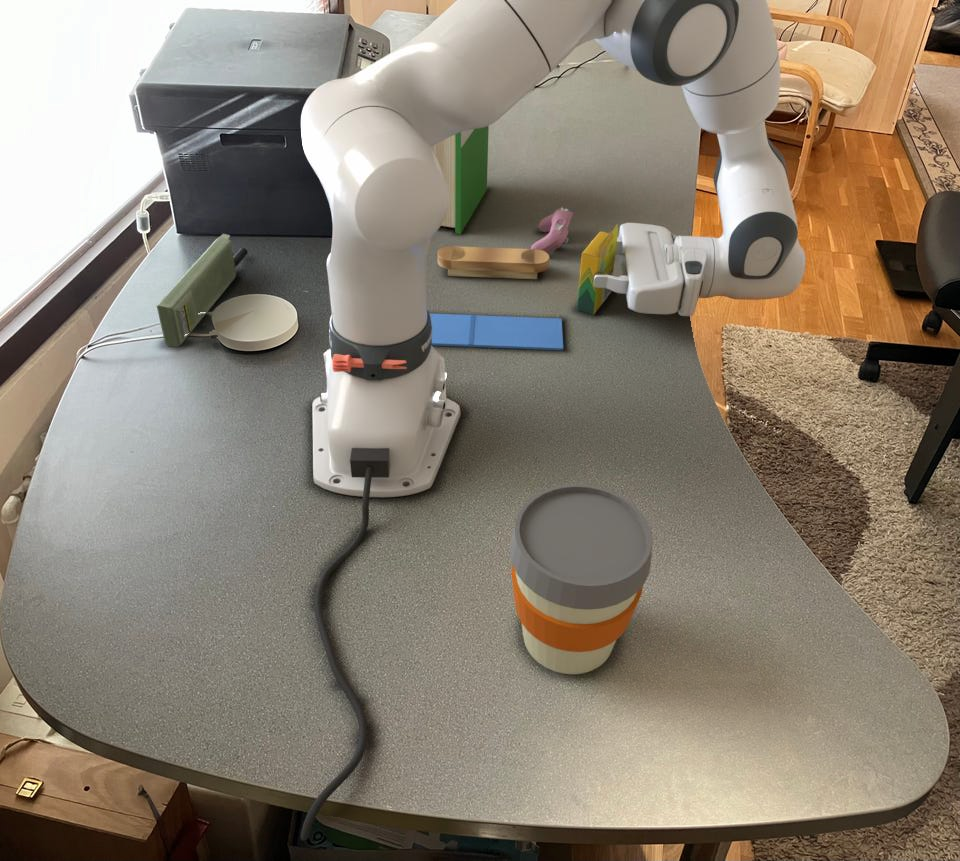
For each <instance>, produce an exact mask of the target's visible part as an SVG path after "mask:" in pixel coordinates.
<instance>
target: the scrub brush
mask: <svg viewBox="0 0 960 861" xmlns="http://www.w3.org/2000/svg"><path fill="white" fill-rule="evenodd" d="M436 257H437V264H438V266H439V267H441V268H443V269H446V270H447V276H448V277H469V278H470V277H471V278H491V279H492V278H495V279H520V280H522V279H523V280H538V273H542V272H545V271H547V270H548V269H549V266H550V255H549V254H547V253H546V252H544V251H542V250H538V249H531V248H513V247H489V246H488V247H486V246H463V245H462V246H457V245H449V246H444V247H442V248H439V250H438V251H437V256H436Z"/></svg>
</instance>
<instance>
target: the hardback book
mask: <svg viewBox="0 0 960 861" xmlns="http://www.w3.org/2000/svg"><path fill="white" fill-rule="evenodd" d="M489 127H490V125H489V126H487V127H484V128H478V129H469V130H465V131H462V132H460V133H457V134H455V135H453V136H451V137H448V138H446V139H444V140H443V141H441V142H439V143H437V144H435V145H434V146H432V147H431V149H432V150H433V151H434V153H435V155H436V157H437V159H438V161H439V164H440V166H441V169H442V171H443V174H444V177H445V180H446V183H447V187H448V191H449V205H448V210H447V214H446V216H445V219H444V221H443V223H442V224H441V226H440V227H442V226H443V227H448V228H454V233H455V234H457V235H461V234H462V232H463V231H464V228H465V227H466V225H467V224H468V222H469V221H470V219H471V217H472V216H473V214H474V212H475V210H476V209H477V207H478V206H479V204H480V202H481V200H482V199H483V197H484V195H485V193H487V190H488V164H489V130H490V128H489Z"/></svg>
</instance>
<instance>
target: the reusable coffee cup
mask: <svg viewBox="0 0 960 861" xmlns="http://www.w3.org/2000/svg"><path fill="white" fill-rule="evenodd" d="M514 521H515V522H514V525H513V530H512V535H511V540H510V547H509V555H510V559H511V582H512V591H513V592H512V593H513V599H514V605H515V611H516V614H517V616H518V619H519V621H520V623H521V630H522V631H521V632H522V637H523V642H524V645H525V647H526V650H527V652H528V653H529V654H530V656H531V657H532V658H533V659H534V660H535V661H536V662H537V663H538V664H539V665H541V666H542V667H544V668H546V669H548V670H550V671H553V672H554V673H559V674H563V675H581V674H586V673H589V672H592V671H594V670H595V669H598V668H599V667H600V666H602V665H603V664H605V662H606V661H607V660H608V658H609V657H610V656H611V654H612V651H613V649H614V647H615V644H616V642H617V640H618V639H619V638H620V637H621V636H622V635H623V634H624V633H625V631H626V630H627V628H628V626H629V624H630V622H631V620H632V616H633V614H634V613H635V610H636V607H637V605H638V603H639V601H640V599H641V597H642V594H643V588H644V585H645V584H646V582H647V579H648V577H649V575H650V572H651V565H652V558H653V557H652V555H653V533H652V529H651V526H650V524H649V521H648V520H647V518H646V516H645V515H644V513H643V512H642V510H640V509H639V508H638V507H637V505H636V504H634V503H633V502H632V501H630V499H628V498H627V497H626V496H623V495H621V494H619V493H618V492H616V491H614V490H611V489H608V488H605V487H603V486H598V485H593V484H587V483H565V484H564V483H563V484H559V485H555V486H551V487H548V488H545V489H543V490H540V491H539V492H537V493H536V494H533V495H532V496H531V497H530V498H529V499H528V500H526V502H525V503H524V504H523V505H522V506H521V508H520V510H519V511H518V513H517V516H516V519H515V520H514Z"/></svg>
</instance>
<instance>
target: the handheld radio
mask: <svg viewBox="0 0 960 861" xmlns="http://www.w3.org/2000/svg"><path fill="white" fill-rule="evenodd" d="M230 237H231V235H230V234H226V233H222V234H221V235H220V236H218V237H217V238H216V239H214V241H213V242H212V243H211V245H209V247H208V248H207V249H206V250H205V251H204V252H203V253H202V255H200V257H199V258H197V260H196V261H195V262H194V263H193V264H192V265H191V266H190V268H189V269H188V270H187V271H186V272H185V273H184V274H183V275H182V277H181V278H179V280H178V281H177V282H176V283H175V284H174V285H173V287H172V288H171V289H170V290H169V291H168V292H167V293H166V294H165V295H164V297H163V298H162V299H161V300H160V301H159V302H158V303H157V305H156V309H157V314H158V318H159V323H160V327H161V331H162V336H163V340H164V344H165V345H166V346H167V347H174V348H175V347H176V348H178V347H180V346H181V345H182V344H183V343H184V342H185V340H186V339H187V338H188V336H190V334H191V332H193V330H194V329H195V328H196V327H197V325H198V324H199V323H200V322H201V320H203V318H204V317H205V316H206V314H201V315H198V313H200V312H207V313H208V312H209V311H210V309H211V308H212V307H213V306H214V304H215V303H216V302H217V300H219V298H220V297H221V296H222V295H223V293H224V292H225V291H226V290H227V288H228V287H229V286H230V284H231V283H232V282H233V281H234V280H235V278H236V276H237V272H236V267H237V266H238V265H239V264H240V263H241V262H242V261H243V260H244V259H245V258H246V256H247V255H248V253H249V252H248V250H247V249H246V248H245V247H240V249H239V250H238V251H237V252H236V253H235V254H234V252H233V246H232V242H231V240H230ZM188 333H189V334H188ZM185 334H188V335H187V336H186V337H184V335H185Z"/></svg>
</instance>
